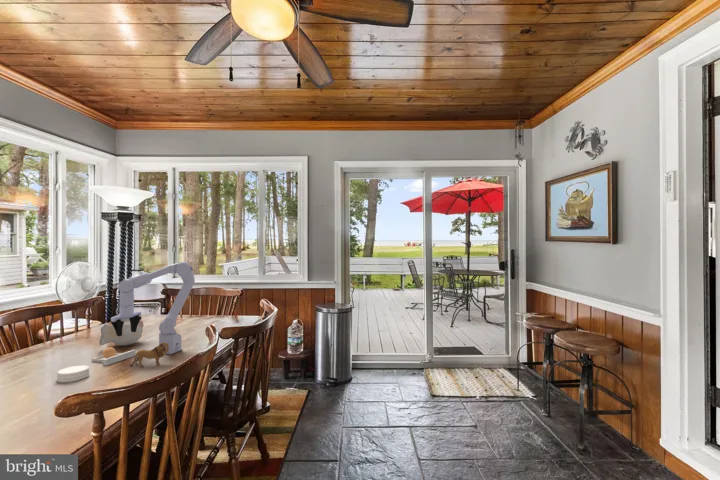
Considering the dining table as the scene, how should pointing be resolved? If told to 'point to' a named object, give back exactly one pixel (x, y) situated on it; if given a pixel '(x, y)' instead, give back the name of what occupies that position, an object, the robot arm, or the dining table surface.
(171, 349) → the robot arm
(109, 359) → the white picture ledge
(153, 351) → the lion figurine
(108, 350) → the ball
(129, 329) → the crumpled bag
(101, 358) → the tray
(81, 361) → the dining table surface
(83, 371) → the coaster
